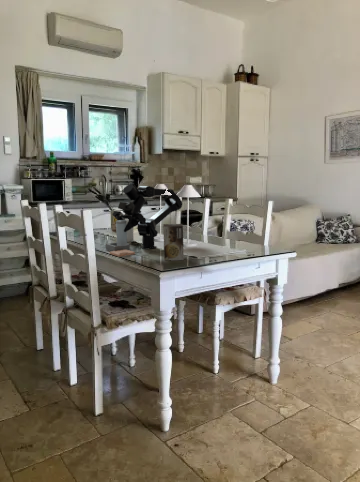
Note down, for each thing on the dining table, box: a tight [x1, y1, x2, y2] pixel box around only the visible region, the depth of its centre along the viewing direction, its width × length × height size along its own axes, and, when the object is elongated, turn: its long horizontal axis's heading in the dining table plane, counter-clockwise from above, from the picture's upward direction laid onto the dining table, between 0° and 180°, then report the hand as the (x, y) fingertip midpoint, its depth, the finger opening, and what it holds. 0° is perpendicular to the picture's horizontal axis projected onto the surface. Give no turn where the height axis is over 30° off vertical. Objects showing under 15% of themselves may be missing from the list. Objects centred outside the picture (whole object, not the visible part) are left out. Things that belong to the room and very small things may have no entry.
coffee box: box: [163, 223, 185, 261], centre depth 189 cm, size 9×6×16 cm
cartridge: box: [115, 219, 128, 246], centre depth 200 cm, size 5×5×12 cm
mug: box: [125, 219, 135, 243], centre depth 233 cm, size 10×7×12 cm, turn 122°
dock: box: [105, 241, 136, 258], centre depth 207 cm, size 19×12×3 cm, turn 39°
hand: (120, 231), depth 200 cm, fingers closed on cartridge, 5 cm apart
